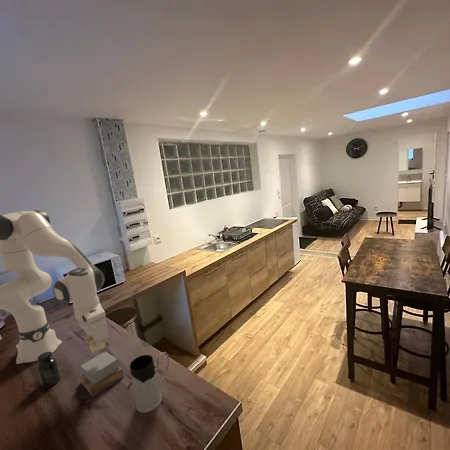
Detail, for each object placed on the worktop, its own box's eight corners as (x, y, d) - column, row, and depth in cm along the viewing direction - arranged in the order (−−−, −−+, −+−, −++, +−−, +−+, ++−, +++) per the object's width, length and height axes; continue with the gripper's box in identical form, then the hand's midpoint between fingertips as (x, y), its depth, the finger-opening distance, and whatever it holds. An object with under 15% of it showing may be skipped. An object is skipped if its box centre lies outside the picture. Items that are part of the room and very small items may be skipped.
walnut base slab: (81, 384, 102) (79, 375, 102) (111, 366, 111) (109, 357, 110) (92, 398, 94) (90, 388, 93) (124, 377, 102) (122, 368, 102)
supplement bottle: (64, 374, 108) (58, 348, 107) (54, 386, 102) (47, 359, 100) (48, 376, 108) (41, 350, 107) (37, 389, 102) (29, 362, 100)
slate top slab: (82, 374, 101) (80, 365, 101) (107, 359, 109) (105, 351, 108) (93, 385, 95) (91, 375, 94) (119, 368, 103) (117, 359, 102)
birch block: (87, 349, 100) (85, 337, 100) (100, 342, 104) (98, 331, 103) (92, 353, 97) (89, 341, 96) (105, 346, 100) (103, 335, 100)
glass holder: (131, 403, 89) (123, 364, 86) (167, 378, 98) (160, 342, 96) (143, 417, 82) (134, 375, 80) (180, 389, 92) (173, 351, 90)
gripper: (70, 307, 103) (78, 338, 105) (88, 321, 89) (97, 357, 91) (87, 300, 107) (94, 331, 110) (107, 312, 93) (114, 347, 95)
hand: (95, 343), depth 100 cm, fingers closed on birch block, 5 cm apart
